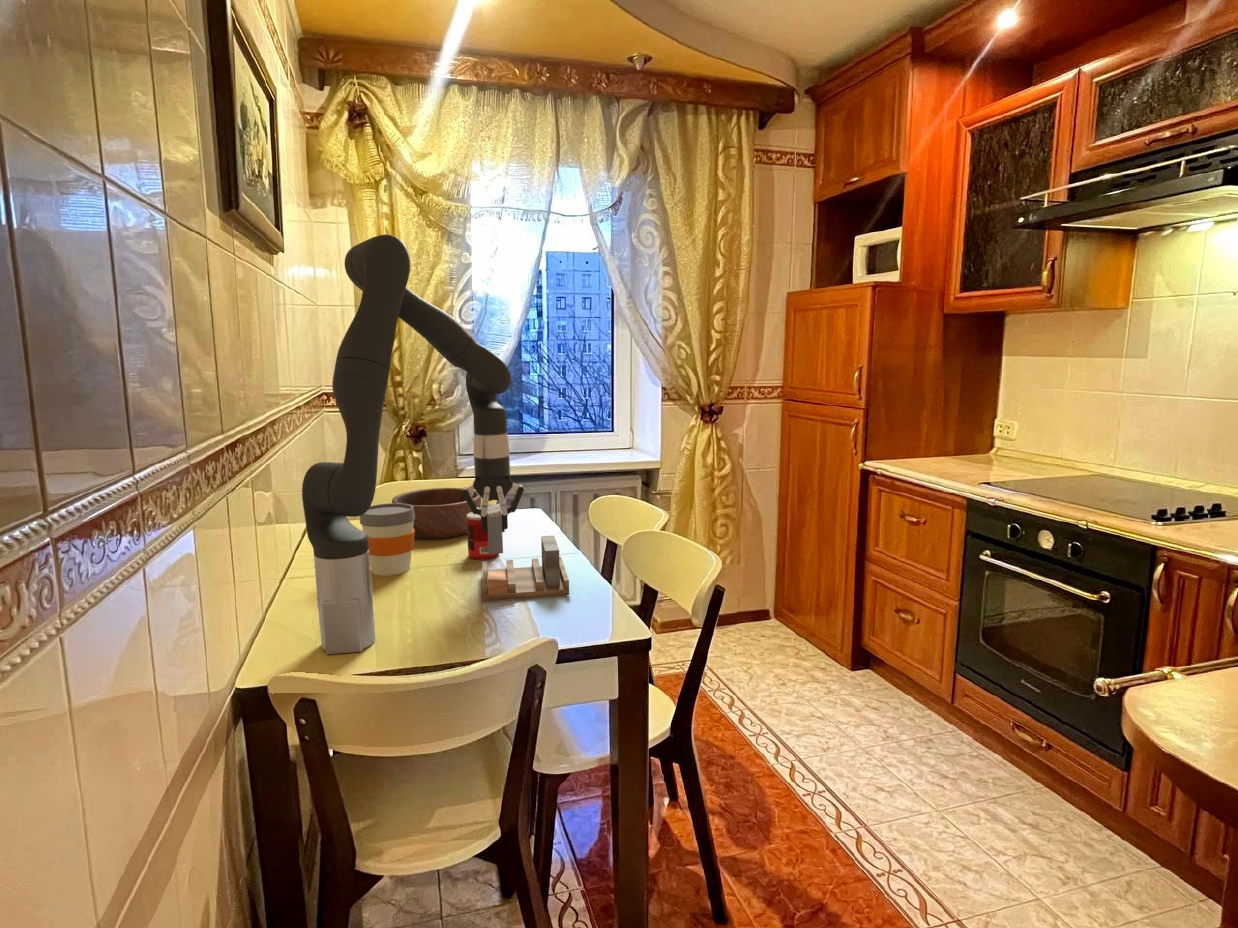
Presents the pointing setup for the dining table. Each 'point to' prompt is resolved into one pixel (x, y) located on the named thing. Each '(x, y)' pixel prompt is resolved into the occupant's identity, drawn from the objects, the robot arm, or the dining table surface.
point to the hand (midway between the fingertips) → (495, 531)
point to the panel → (494, 529)
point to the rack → (528, 577)
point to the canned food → (477, 539)
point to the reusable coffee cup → (389, 537)
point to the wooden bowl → (438, 511)
